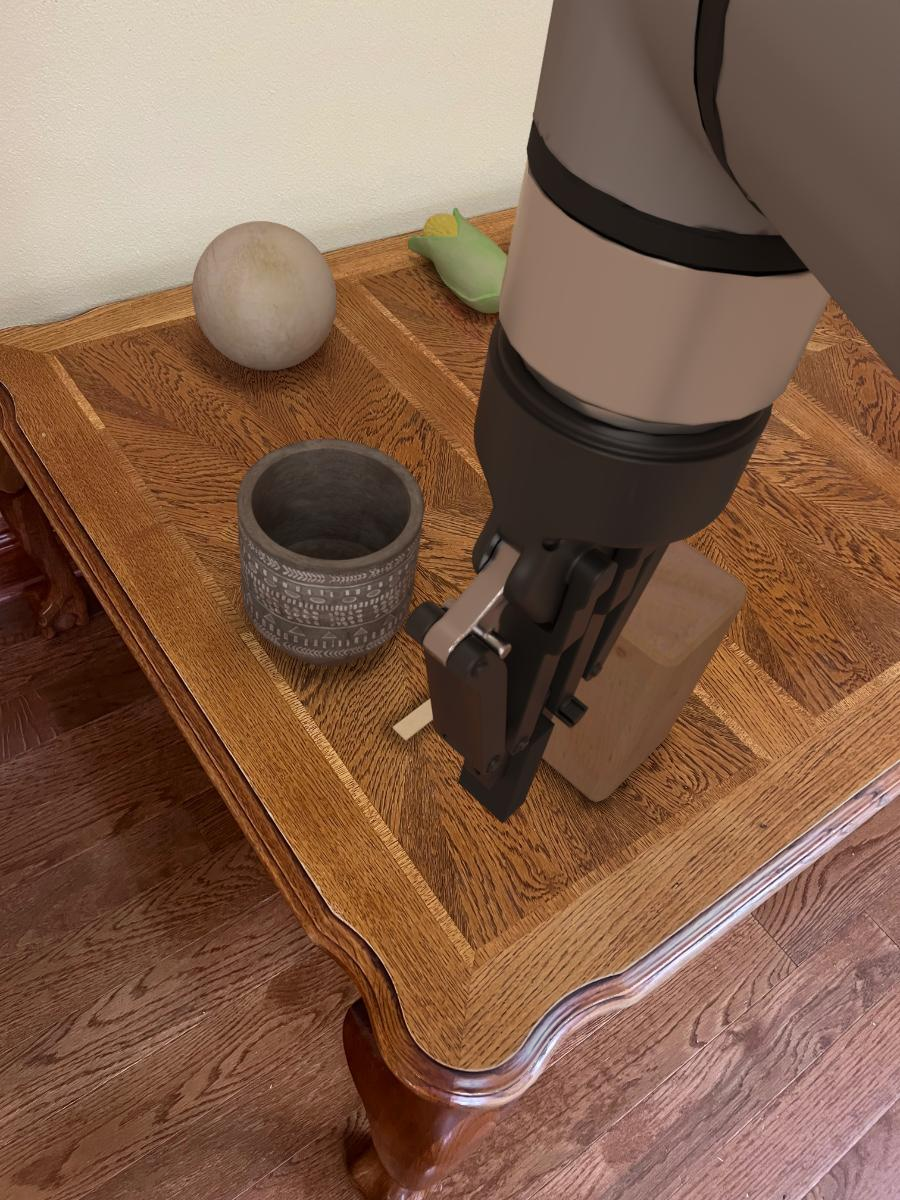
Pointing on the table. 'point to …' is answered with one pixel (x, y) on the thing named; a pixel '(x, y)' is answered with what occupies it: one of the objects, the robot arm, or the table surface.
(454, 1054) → the table surface
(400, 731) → the tape strip
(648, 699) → the wooden block
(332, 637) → the planter
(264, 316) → the decorative sphere
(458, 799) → the table surface
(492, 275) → the corn
